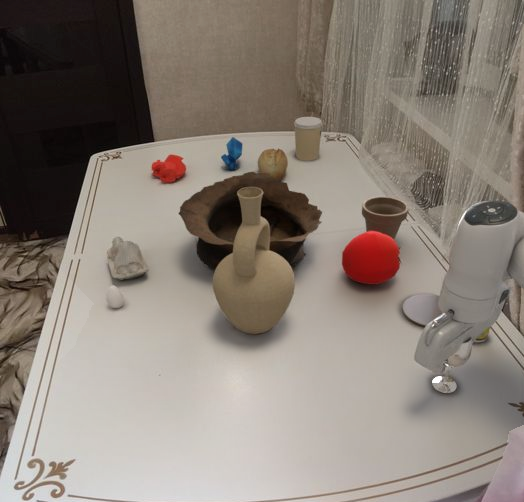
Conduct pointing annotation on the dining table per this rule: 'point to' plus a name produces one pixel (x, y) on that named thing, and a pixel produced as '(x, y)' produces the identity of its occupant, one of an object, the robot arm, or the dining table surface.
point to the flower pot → (384, 214)
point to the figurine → (125, 259)
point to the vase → (253, 273)
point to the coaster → (421, 309)
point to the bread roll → (273, 163)
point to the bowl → (230, 217)
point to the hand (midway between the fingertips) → (450, 362)
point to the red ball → (371, 258)
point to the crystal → (232, 153)
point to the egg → (114, 297)
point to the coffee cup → (307, 138)
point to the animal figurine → (169, 168)
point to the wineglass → (455, 360)
